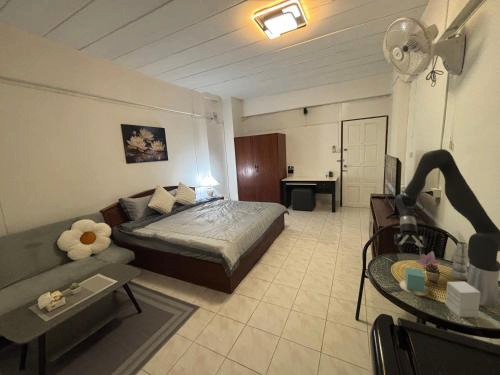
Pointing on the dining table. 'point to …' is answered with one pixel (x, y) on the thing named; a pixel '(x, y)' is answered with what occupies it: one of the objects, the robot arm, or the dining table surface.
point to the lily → (427, 259)
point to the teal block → (414, 279)
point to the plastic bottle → (460, 261)
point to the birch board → (426, 291)
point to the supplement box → (462, 299)
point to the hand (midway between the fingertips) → (411, 253)
